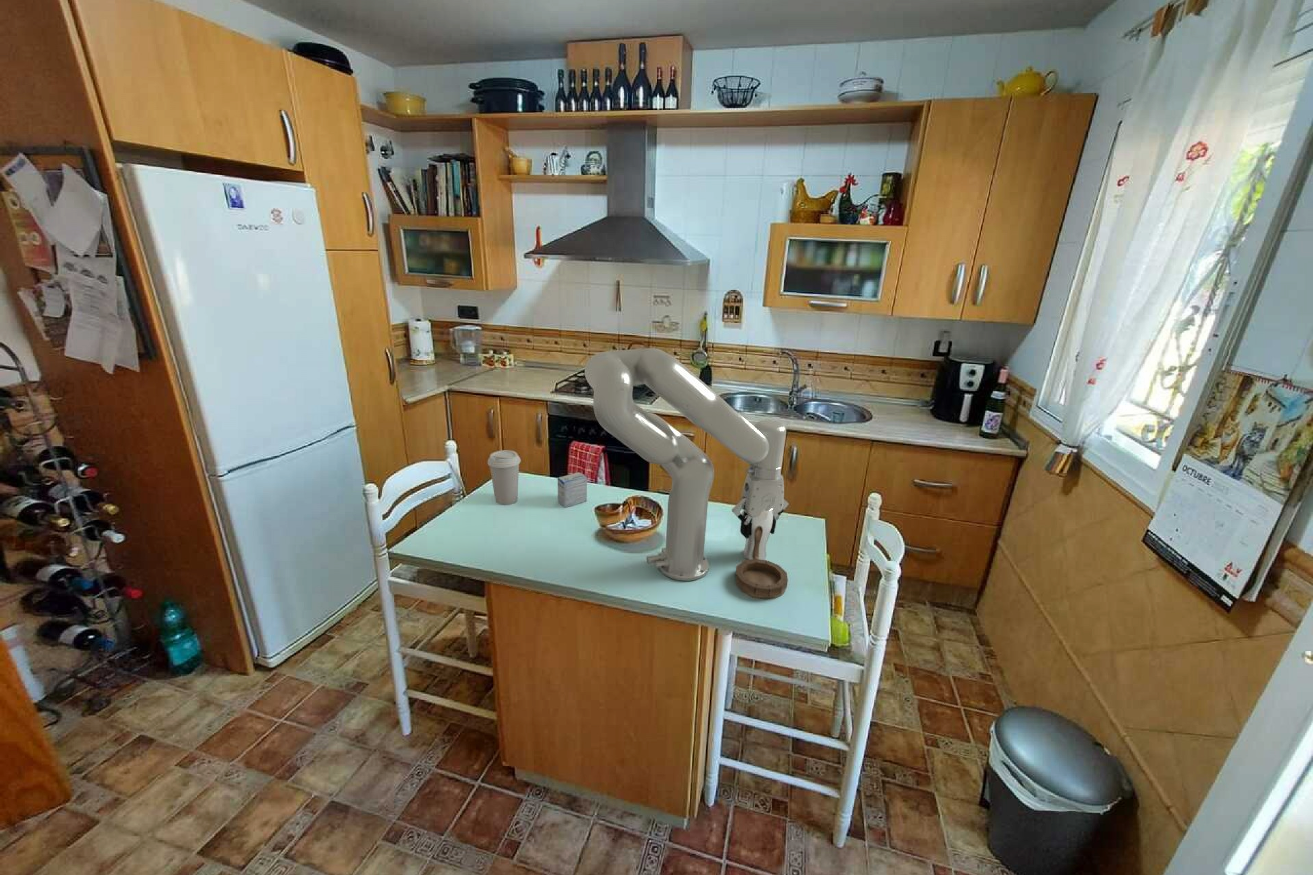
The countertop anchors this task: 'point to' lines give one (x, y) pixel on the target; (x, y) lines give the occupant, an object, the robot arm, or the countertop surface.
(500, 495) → the coffee cup
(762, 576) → the round tray
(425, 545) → the countertop surface
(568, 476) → the medicine box
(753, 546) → the beer glass
